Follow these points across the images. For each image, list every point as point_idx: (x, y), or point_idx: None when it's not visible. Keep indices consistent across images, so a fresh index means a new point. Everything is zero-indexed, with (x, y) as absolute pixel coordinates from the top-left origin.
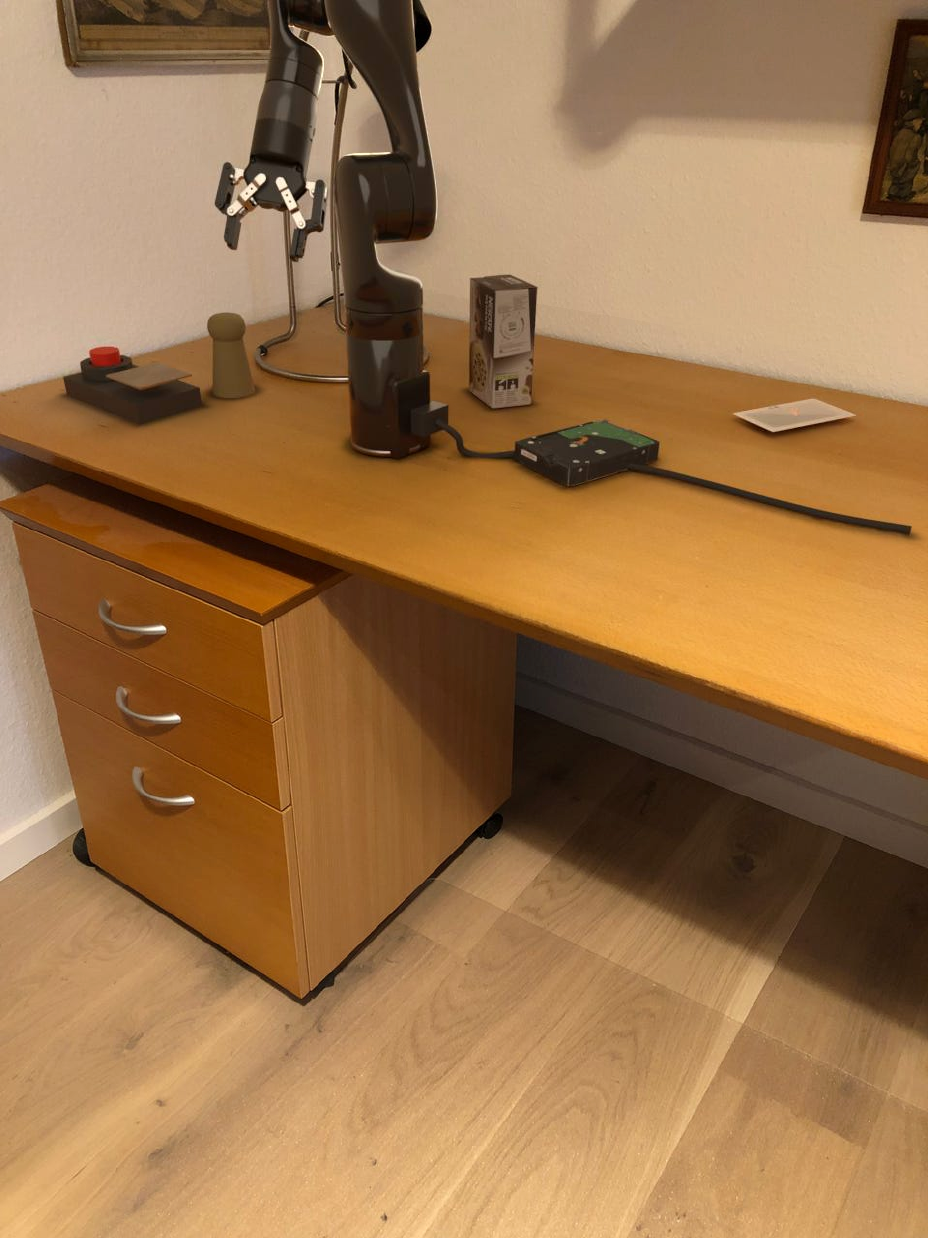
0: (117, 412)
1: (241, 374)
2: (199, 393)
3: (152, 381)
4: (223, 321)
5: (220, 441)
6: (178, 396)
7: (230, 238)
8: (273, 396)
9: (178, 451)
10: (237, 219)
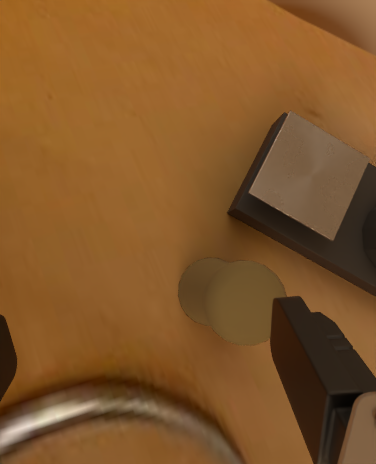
0: None
1: (193, 276)
2: (233, 208)
3: (288, 143)
4: (239, 268)
5: (141, 87)
6: (251, 174)
7: (294, 309)
8: (141, 286)
9: (179, 46)
10: (322, 409)
